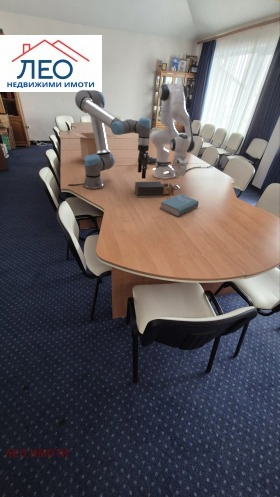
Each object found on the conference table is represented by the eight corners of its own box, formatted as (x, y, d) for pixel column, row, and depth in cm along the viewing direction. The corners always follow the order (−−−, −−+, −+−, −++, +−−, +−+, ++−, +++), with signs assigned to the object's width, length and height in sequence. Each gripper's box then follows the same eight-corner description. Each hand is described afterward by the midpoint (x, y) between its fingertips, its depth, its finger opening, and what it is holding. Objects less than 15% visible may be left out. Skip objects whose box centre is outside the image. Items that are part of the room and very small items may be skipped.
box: (116, 165, 229) (116, 136, 213) (83, 168, 214) (80, 137, 198) (102, 154, 259) (101, 128, 243) (71, 156, 244) (68, 129, 228)
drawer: (176, 189, 183) (177, 182, 179) (180, 194, 175) (181, 187, 171) (147, 190, 178) (148, 183, 174) (150, 195, 170) (151, 187, 166)
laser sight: (157, 165, 238) (158, 155, 232) (137, 163, 241) (138, 153, 235) (159, 163, 245) (160, 153, 239) (139, 160, 248) (139, 151, 242)
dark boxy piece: (158, 191, 181) (160, 181, 176) (162, 196, 172) (164, 186, 167) (134, 191, 176) (135, 181, 172) (137, 197, 168) (138, 187, 163)
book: (179, 200, 168) (180, 193, 165) (197, 207, 159) (199, 201, 156) (160, 208, 154) (160, 201, 152) (178, 217, 146) (179, 210, 143)
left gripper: (134, 140, 160) (133, 170, 173) (142, 148, 141) (140, 181, 153) (144, 140, 162) (142, 169, 174) (153, 148, 142) (150, 181, 155)
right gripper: (171, 155, 170) (168, 173, 178) (180, 163, 154) (177, 182, 163) (178, 155, 172) (176, 173, 180) (188, 163, 156) (185, 182, 164)
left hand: (141, 175), depth 164 cm, fingers open, 13 cm apart
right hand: (176, 177), depth 171 cm, fingers closed
